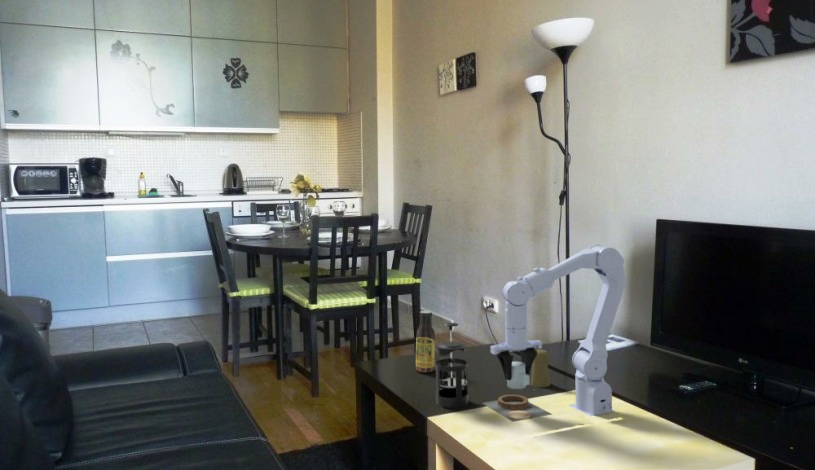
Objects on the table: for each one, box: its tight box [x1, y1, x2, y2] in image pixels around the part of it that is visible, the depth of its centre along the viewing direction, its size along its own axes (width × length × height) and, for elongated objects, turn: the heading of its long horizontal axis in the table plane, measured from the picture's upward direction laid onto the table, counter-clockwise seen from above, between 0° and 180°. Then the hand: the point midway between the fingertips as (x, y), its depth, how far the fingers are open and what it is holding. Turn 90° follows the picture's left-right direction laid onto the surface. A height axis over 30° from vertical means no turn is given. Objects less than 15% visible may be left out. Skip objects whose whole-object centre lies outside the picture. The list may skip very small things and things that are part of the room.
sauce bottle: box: [415, 310, 436, 374], centre depth 212 cm, size 6×6×20 cm
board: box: [482, 394, 552, 422], centre depth 172 cm, size 16×12×2 cm
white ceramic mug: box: [506, 361, 530, 390], centre depth 168 cm, size 8×5×6 cm, turn 21°
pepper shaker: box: [530, 349, 551, 388], centre depth 193 cm, size 6×6×11 cm
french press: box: [434, 322, 469, 409], centre depth 178 cm, size 12×9×23 cm
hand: (516, 377), depth 169 cm, fingers closed on white ceramic mug, 5 cm apart
